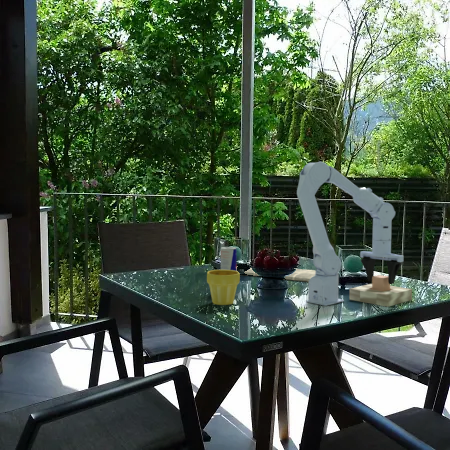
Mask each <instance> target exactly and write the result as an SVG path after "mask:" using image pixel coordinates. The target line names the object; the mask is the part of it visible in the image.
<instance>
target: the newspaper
mask: <svg viewBox="0 0 450 450" xmlns="http://www.w3.org/2000/svg"><path fill="white" fill-rule="evenodd" d="M295 269H296V271H295V272H294V273H293V274H291V275H289V276H286V277H285V279H286V281H296V282H306V283H309V280H310V278H312V277H313V276H315V274H316V273H315V271H316V269H315V270H314V269H304V268H303V269H301V268H295ZM244 273H245V274H247V275H246V276H248V275H253V276H252V277H257V276H259V275H258V274H257V273H255V272H254V271H253V270H252V268H250V269H249V270H247V271H245V272H244ZM285 279H284V280H285Z"/></svg>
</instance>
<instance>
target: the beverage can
mask: <svg viewBox="0 0 450 450" xmlns="http://www.w3.org/2000/svg"><path fill="white" fill-rule="evenodd" d="M237 252H238V251H237V247H234V246H222V247H220V270H234V271H237V267H238V266H237V265H238V264H237V263H238V262H237V260H238V259H237Z"/></svg>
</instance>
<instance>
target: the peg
mask: <svg viewBox="0 0 450 450" xmlns="http://www.w3.org/2000/svg"><path fill="white" fill-rule="evenodd" d="M371 284H372V290H377V291H383V292H384V291H388V290H390V286H391V284H389V282H388V276H387V275H383V274H382V275H380V274H378V275H374V276H373V277H372V280H371Z"/></svg>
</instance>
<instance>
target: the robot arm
mask: <svg viewBox="0 0 450 450" xmlns="http://www.w3.org/2000/svg"><path fill="white" fill-rule="evenodd" d="M324 183H327V184H328V183H329V184H333V185H335V187H338V188H339V189H340V190H343V191H344V192H345V193H346V194H348V195H350V196H351V197H352V201H353V202H354V203H355V204H356V205H357V206H358V207H360V208H361V209H362V210H364V211H366V212H367V213H368V214H369V215H370V217H371V218H372V240H371V241H372V242H371V243H372V245H371V246H372V249H371V251H367V250H363V251H360V253H359V254H360V255H359V257H360V258H362V259H360V263H362V266H363V268H364V271H365V273H366V278H367V281H368V282H372V277H373V276H375V274H374V273H375V266H376V260H382V261H386V266H387V272H388V282H389V284H390V285H393V284H395V281H396V277H397V274H398V272H399V269H400V268H401V266H402V265H403V262H404V255H402V254H395V253H392V220H393V219H394V218H395V216H396V211H395V208H394V206H393V205H392V204H391V203H389V202H384V198H383V197H381V196H378V195H376V194H375V193H373V189H371V188H370V187H367V188H366V187H358V185H356V184H354V183H353V182H352V181H351V180H349V179H348V178H347V177H346V176H344V175H343V174H342V173H341V172H339V171H338V170H337V169H336V168H334V167H332V166H331V165H329V164H327V163H326V162H325V161H324V162H323V161H318V162H308V163H307V164H305V165H304V166H303V168H302V170H301V171H300V172H299V181H298V183H297V184H298V185H297V190H296V196H297V199H298V202H299V205H300V208H301V211H302V214H303V217H304V220H305V224H306V227H307V229H308V233H309V236H310V239H311V242H312V243H311V244H312V245H313V246H312V253H313V258H312V259H313V260H312V263H313V265H314V267H315V268H316V269H315V273H316V274H315V276H313V277H312V278H310V280H309V282H307V283H308V284H307V286H308V289H307V290H308V291H307V292H308V293H307V295H308V296H307V300H305V303H309V304H310V303H311V304H314V305H321V306H323V307H324V306H330V305H334V304H335V305H336V304H338V303H343V302H345V300H344V299H341V298H339V271H340V270H341V269H342V261H341V258H340V257H339V256H338V255H337V254H336V252H335V249H334V247H333V246H332V244H331V242H330V239H329V237H328V234H327V231H326V227H325V223H324V221H323V218H322V215H321V214H322V213H321V211H320V208H319V205H318V202H317V199H316V196H315V195H316V193H317V192H318V190H319V188H320V187H321V186H322V185H323V184H324Z"/></svg>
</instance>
